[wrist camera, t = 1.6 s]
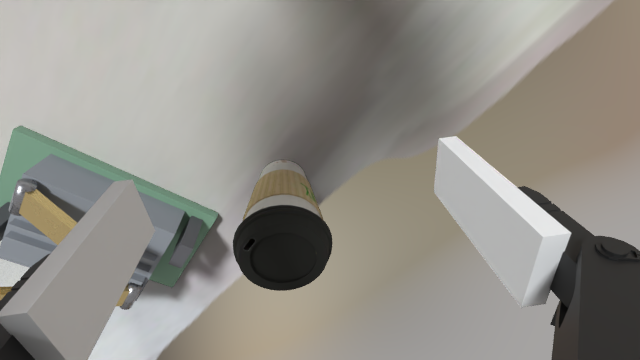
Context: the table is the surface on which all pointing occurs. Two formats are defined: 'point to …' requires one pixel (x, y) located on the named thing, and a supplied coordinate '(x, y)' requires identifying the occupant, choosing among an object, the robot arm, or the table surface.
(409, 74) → the table surface
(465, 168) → the robot arm
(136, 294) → the strap
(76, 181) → the heatsink module
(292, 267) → the coffee cup
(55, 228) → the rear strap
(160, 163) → the table surface
